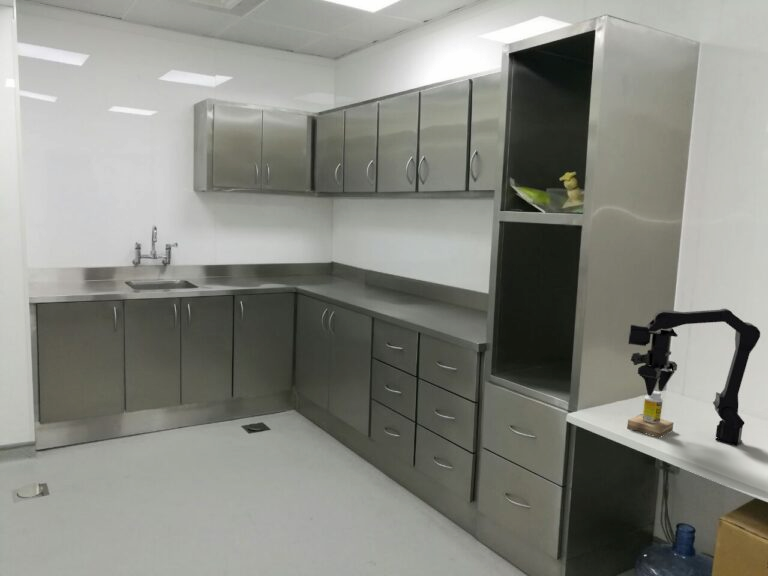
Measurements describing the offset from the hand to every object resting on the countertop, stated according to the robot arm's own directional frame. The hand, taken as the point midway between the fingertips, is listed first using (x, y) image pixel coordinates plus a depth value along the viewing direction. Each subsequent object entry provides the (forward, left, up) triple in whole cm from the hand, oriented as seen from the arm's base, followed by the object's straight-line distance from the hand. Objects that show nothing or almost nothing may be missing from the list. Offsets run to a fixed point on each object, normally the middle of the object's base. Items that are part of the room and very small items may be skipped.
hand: (655, 393), depth 213 cm
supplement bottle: (0, 0, -10) cm, 10 cm away
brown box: (0, 0, -13) cm, 13 cm away
